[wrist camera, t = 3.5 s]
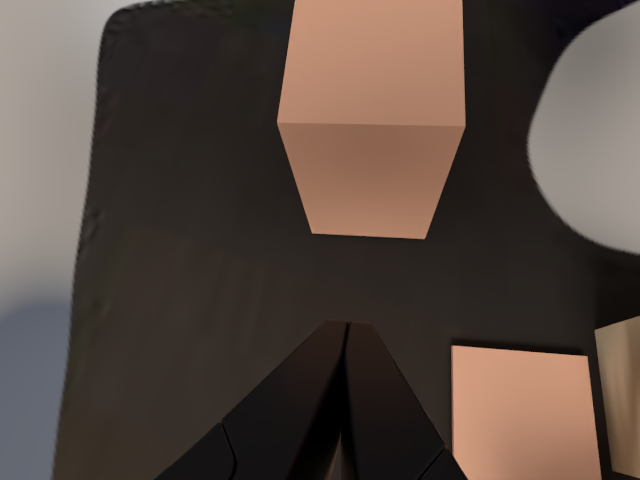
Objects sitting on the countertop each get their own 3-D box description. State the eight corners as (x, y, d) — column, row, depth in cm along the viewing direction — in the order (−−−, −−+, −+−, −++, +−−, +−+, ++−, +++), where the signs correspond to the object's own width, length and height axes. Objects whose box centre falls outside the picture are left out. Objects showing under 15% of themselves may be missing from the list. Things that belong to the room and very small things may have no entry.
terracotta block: (424, 239, 23) (465, 126, 14) (312, 233, 24) (277, 122, 14) (425, 141, 25) (461, -16, 16) (322, 138, 26) (297, -12, 16)
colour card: (606, 560, 18) (611, 564, 17) (453, 540, 18) (454, 542, 18) (583, 357, 20) (587, 356, 20) (451, 346, 21) (452, 345, 21)
